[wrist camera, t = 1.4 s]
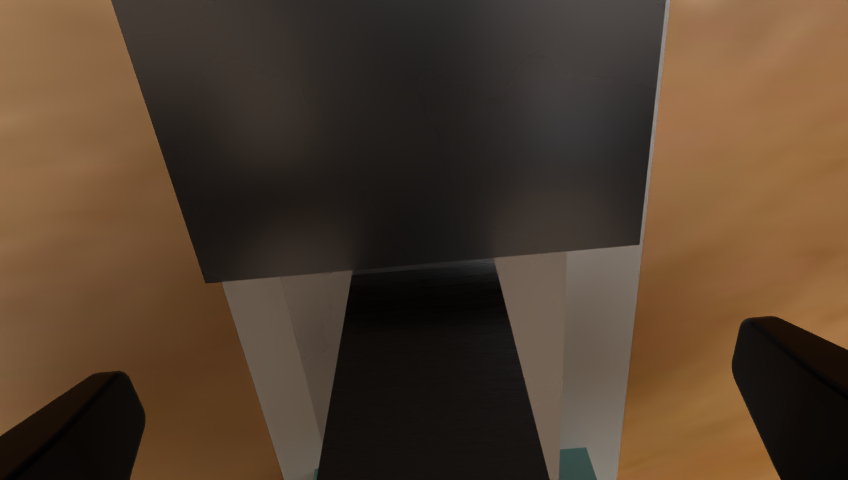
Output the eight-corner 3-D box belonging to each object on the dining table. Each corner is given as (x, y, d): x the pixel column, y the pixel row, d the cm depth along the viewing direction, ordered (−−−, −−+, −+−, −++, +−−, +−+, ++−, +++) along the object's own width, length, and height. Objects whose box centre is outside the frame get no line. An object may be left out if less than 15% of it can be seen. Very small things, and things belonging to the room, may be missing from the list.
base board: (599, 520, 20) (609, 548, 19) (317, 542, 20) (312, 570, 19) (711, -640, 8) (750, -715, 7) (-9, -548, 8) (-61, -609, 7)
